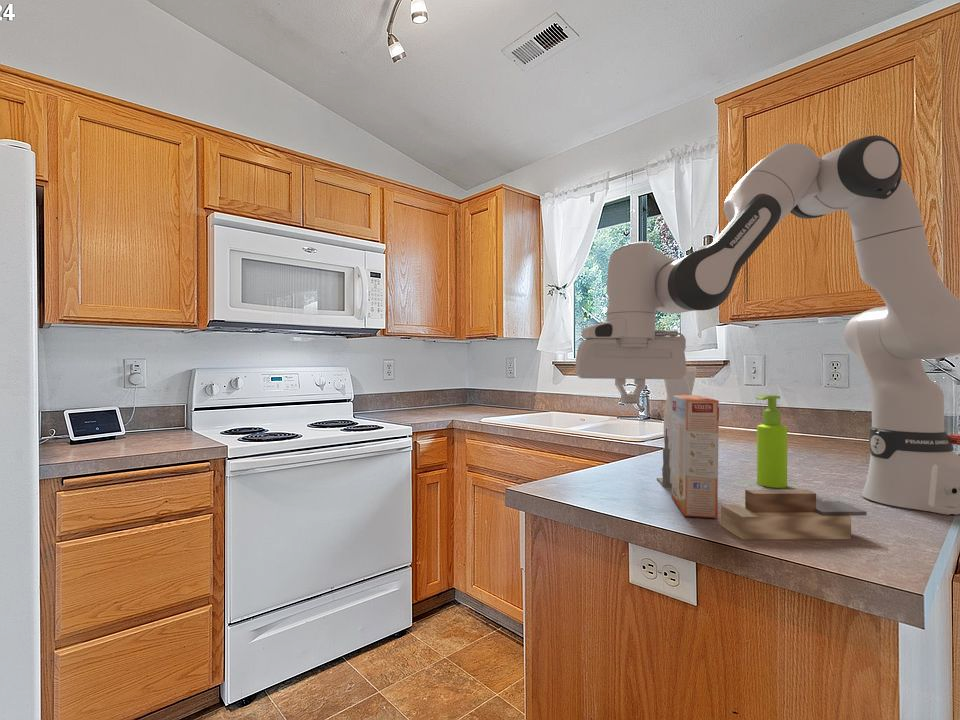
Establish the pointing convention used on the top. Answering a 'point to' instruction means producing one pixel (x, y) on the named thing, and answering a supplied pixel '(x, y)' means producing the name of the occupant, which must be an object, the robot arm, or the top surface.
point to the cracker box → (695, 455)
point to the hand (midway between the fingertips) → (629, 403)
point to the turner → (796, 503)
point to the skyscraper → (672, 388)
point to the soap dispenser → (771, 447)
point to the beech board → (783, 524)
